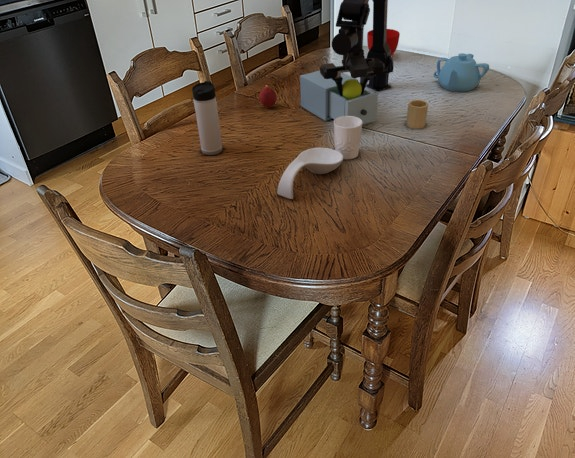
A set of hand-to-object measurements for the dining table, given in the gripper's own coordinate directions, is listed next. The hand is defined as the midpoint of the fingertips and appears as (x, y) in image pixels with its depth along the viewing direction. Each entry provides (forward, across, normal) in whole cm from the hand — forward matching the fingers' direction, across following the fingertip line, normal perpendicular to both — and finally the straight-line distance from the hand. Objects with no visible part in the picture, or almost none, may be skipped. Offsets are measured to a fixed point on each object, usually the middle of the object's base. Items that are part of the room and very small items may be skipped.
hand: (351, 95), depth 155 cm
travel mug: (+9, -45, -7) cm, 47 cm away
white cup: (+9, -8, -21) cm, 24 cm away
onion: (+9, -23, +18) cm, 31 cm away
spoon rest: (+9, -21, -31) cm, 38 cm away
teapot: (+9, +47, +18) cm, 51 cm away
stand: (+9, +19, -8) cm, 22 cm away
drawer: (+8, 0, 0) cm, 8 cm away
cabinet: (+9, -4, +11) cm, 15 cm away
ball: (-2, 0, 0) cm, 2 cm away
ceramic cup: (+3, +30, +52) cm, 61 cm away
